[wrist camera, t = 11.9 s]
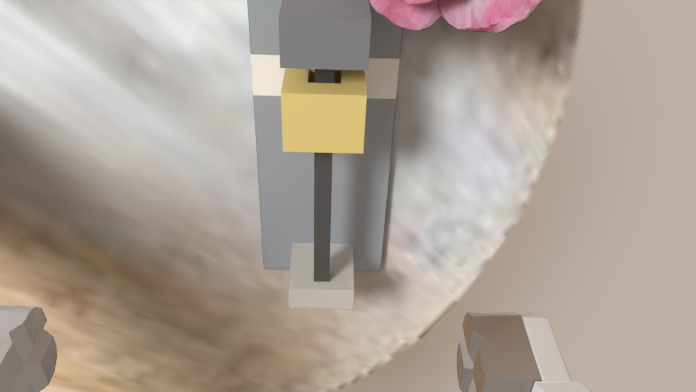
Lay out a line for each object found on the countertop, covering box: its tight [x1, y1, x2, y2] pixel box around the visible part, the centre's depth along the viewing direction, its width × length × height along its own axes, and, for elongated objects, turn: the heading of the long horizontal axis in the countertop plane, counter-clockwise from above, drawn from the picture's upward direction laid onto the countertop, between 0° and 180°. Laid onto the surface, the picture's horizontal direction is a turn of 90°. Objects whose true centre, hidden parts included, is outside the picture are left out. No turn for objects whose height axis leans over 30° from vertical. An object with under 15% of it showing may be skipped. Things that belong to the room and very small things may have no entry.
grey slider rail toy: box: [247, 0, 403, 309], centre depth 43 cm, size 10×25×7 cm, turn 178°
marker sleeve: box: [281, 68, 367, 154], centre depth 39 cm, size 5×4×5 cm
